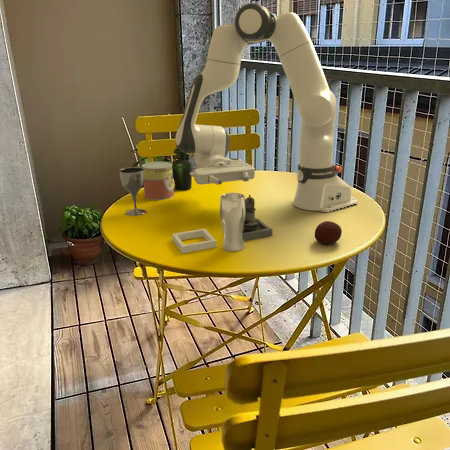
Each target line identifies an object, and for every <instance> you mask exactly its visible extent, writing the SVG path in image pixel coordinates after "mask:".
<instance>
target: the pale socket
mask: <svg viewBox="0 0 450 450" xmlns="http://www.w3.org/2000/svg"><path fill="white" fill-rule="evenodd" d="M171 236H172V237H171V239H172V242H173V243H174V244H175V246H176V247H177V249H178V250H179V251H180V252H181V254H186V253H187V254H188V253H193V252H197V251H198V252H199V251H203V250H204V251H205V250H209V249H215V248H217V244H218V243H217V240H216V239H215V238H214V236H213V235H212V234H211V233H209V231H208V230H207V229H206V228H201V229H194V230H188V231H182V232H175V233H172V235H171ZM201 237H203V238H204V239H205V240H204V241H199V242H194V243H188V244H185V243H184V242H183V240H184V241H185V240H190V239H197V238H201Z"/></svg>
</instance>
